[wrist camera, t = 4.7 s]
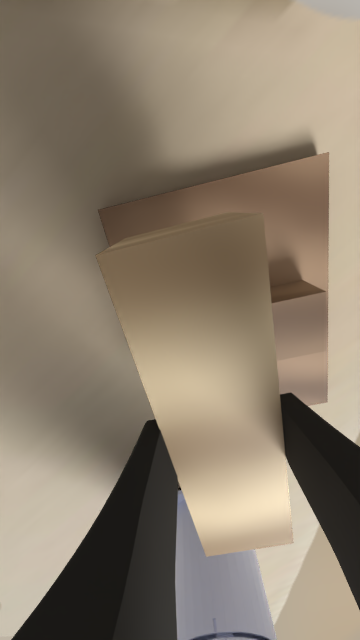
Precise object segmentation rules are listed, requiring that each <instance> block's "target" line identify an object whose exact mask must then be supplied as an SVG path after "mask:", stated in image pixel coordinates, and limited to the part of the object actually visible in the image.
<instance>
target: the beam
mask: <svg viewBox="0 0 360 640" xmlns="http://www.w3.org/2000/svg"><path fill="white" fill-rule="evenodd" d="M95 256H96V258H97V261H98V264H99V267H100V269H101V272H102V275H103V277H104V280H105V283H106V286H107V288H108V291H109V294H110V296H111V299H112V302H113V305H114V307H115V310H116V313H117V316H118V318H119V321H120V324H121V326H122V329H123V332H124V335H125V337H126V340H127V343H128V345H129V348H130V351H131V354H132V356H133V359H134V362H135V364H136V367H137V370H138V373H139V375H140V378H141V381H142V383H143V386H144V389H145V392H146V394H147V397H148V400H149V403H150V405H151V408H152V411H153V413H154V416H155V419H156V422H157V424H158V427H159V430H161V433H162V435H163V438H164V441H165V444H166V446H167V449H168V452H169V455H170V457H171V460H172V463H173V466H174V468H175V471H176V474H177V478H178V481H179V484H180V487H181V490H182V492H183V495H184V498H185V500H186V503H187V506H188V509H189V511H190V514H191V517H192V519H193V522H194V525H195V528H196V530H197V533H198V536H199V538H200V541H201V544H202V547H203V549H204V552H205V555H206V557H208V556H215V555H221V554H227V553H234V552H240V551H247V550H253V549H260V548H266V547H272V546H279V545H285V544H292V543H293V532H292V521H291V510H290V499H289V488H288V477H287V467H286V456H285V445H284V434H283V423H282V412H281V401H280V390H279V379H278V369H277V358H276V347H275V336H274V325H273V314H272V303H271V292H270V281H269V271H268V260H267V249H266V238H265V227H264V216H263V213H238V212H227V213H223V214H219V215H215V216H211V217H207V218H203V219H199V220H195V221H191V222H187V223H183V224H180V225H176V226H172V227H168V228H164V229H160V230H156V231H152V232H148V233H144V234H140V235H136V236H132V237H128V238H125V239H123V240H121V241H120V242H118V243H116V244H114V245H113V246H111V247H109V248H107V249H106V250H104V251H102V252H101V253H99V254H97V255H95Z"/></svg>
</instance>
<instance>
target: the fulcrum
mask: <svg viewBox="0 0 360 640" xmlns="http://www.w3.org/2000/svg"><path fill="white" fill-rule="evenodd" d="M98 212H99V215H100V218H101V221H102V224H103V228H104V231H105V234H106V237H107V240H108V243H109V246H110V247H111V246H113V245H114V244H116V243H118V242H120V241H121V240H123V239H125V238H128V237H132V236H136V235H140V234H144V233H148V232H152V231H156V230H160V229H164V228H168V227H172V226H176V225H180V224H183V223H187V222H191V221H195V220H199V219H203V218H207V217H211V216H215V215H219V214H223V213H227V212H238V213H263V216H264V227H265V238H266V249H267V260H268V271H269V281H270V292H271V303H272V314H273V325H274V336H275V347H276V358H277V369H278V379H279V390H280V394H285V393H290V392H291V393H292V394H294V395H295V396H296V397H297V398H299V399H300V400H301V401H302V402H303V403H304V404H306V405H307V406H310V405H315V404H321V403H326V402H327V389H328V234H329V152H327V153H323V154H319V155H315V156H311V157H307V158H303V159H299V160H295V161H291V162H287V163H283V164H279V165H275V166H271V167H267V168H263V169H259V170H255V171H251V172H247V173H243V174H239V175H235V176H231V177H227V178H223V179H219V180H215V181H211V182H207V183H203V184H199V185H195V186H191V187H187V188H183V189H179V190H176V191H172V192H168V193H164V194H160V195H156V196H152V197H148V198H144V199H140V200H136V201H132V202H128V203H124V204H120V205H116V206H112V207H108V208H104V209H100V210H98Z"/></svg>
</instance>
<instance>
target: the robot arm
mask: <svg viewBox="0 0 360 640" xmlns="http://www.w3.org/2000/svg"><path fill="white" fill-rule="evenodd" d="M280 401H281V412H282V423H283V434H284V445H285V455H286V458H287V460H288V463H289V465H290V467H291V469H292V471H293V473H294V475H295V477H296V479H297V481H298V483H299V485H300V487H301V489H302V491H303V493H304V495H305V496H306V498H307V500H308V502H309V504H310V506H311V508H312V510H313V512H314V514H315V516H316V518H317V519H318V521H319V523H320V525H321V527H322V529H323V531H324V533H325V535H326V537H327V539H328V540H329V543H330V544H331V547H332V549H333V551H334V553H335V555H336V557H337V559H338V561H339V563H340V566H341V568H342V570H343V573H344V575H345V577H346V580H347V582H348V584H349V587H350V589H351V591H352V593H353V595H354V598H355V600H356V602H357V605H358V607H359V610H360V447H359V446H358V445H356V444H355V443H354V442H352V441H351V440H350V439H348V438H347V437H346V436H344V435H343V434H342V433H340V432H339V431H338V430H336V429H335V428H334V427H333V426H331V425H330V424H329V423H328V422H326V421H325V420H324V419H323V418H321V417H320V416H319V415H318V414H316V413H315V412H314V411H313V410H312V409H310V408H309V407H308V406H307V405H306V404H304V403H303V402H302V401H301V400H300V399H299V398H297V397H296V396H295V395H294V394H292V393H291V392H290V393H285V394H280ZM11 640H277V638H276V633H275V629H274V625H273V621H272V617H271V613H270V609H269V605H268V600H267V596H266V592H265V588H264V584H263V580H262V576H261V572H260V567H259V563H258V559H257V555H256V551H255V549H253V550H247V551H240V552H234V553H227V554H221V555H215V556H208V557H206V555H205V552H204V549H203V547H202V544H201V541H200V538H199V536H198V533H197V530H196V528H195V525H194V522H193V519H192V517H191V514H190V511H189V509H188V506H187V503H186V500H185V498H184V495H183V492H182V490H178V478H177V474H176V471H175V468H174V466H173V463H172V460H171V457H170V455H169V452H168V449H167V446H166V444H165V441H164V438H163V435H162V433H161V430H159V427H158V424H157V422H156V419H154V420H149V421H147V422H146V423H145V425H144V427H143V430H142V432H141V434H140V436H139V439H138V441H137V443H136V445H135V447H134V449H133V451H132V454H131V456H130V458H129V460H128V462H127V464H126V466H125V468H124V470H123V472H122V474H121V476H120V478H119V479H118V481H117V483H116V485H115V487H114V489H113V490H112V492H111V494H110V496H109V498H108V499H107V501H106V503H105V505H104V507H103V508H102V510H101V512H100V513H99V515H98V517H97V518H96V520H95V522H94V523H93V525H92V527H91V528H90V530H89V532H88V533H87V535H86V536H85V538H84V539H83V541H82V542H81V544H80V546H79V547H78V549H77V550H76V552H75V553H74V555H73V556H72V558H71V559H70V560H69V562H68V563H67V565H66V566H65V568H64V569H63V571H62V572H61V574H60V575H59V576H58V578H57V579H56V581H55V582H54V584H53V585H52V586H51V588H50V589H49V591H48V592H47V593H46V595H45V596H44V597H43V599H42V600H41V602H40V603H39V604H38V606H37V607H36V608H35V610H34V611H33V612H32V613H31V615H30V616H29V617H28V619H27V620H26V621H25V623H24V624H23V625H22V626H21V628H20V629H19V630H18V632H17V633H16V634H15V636H14V637H13V638H12V639H11Z"/></svg>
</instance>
